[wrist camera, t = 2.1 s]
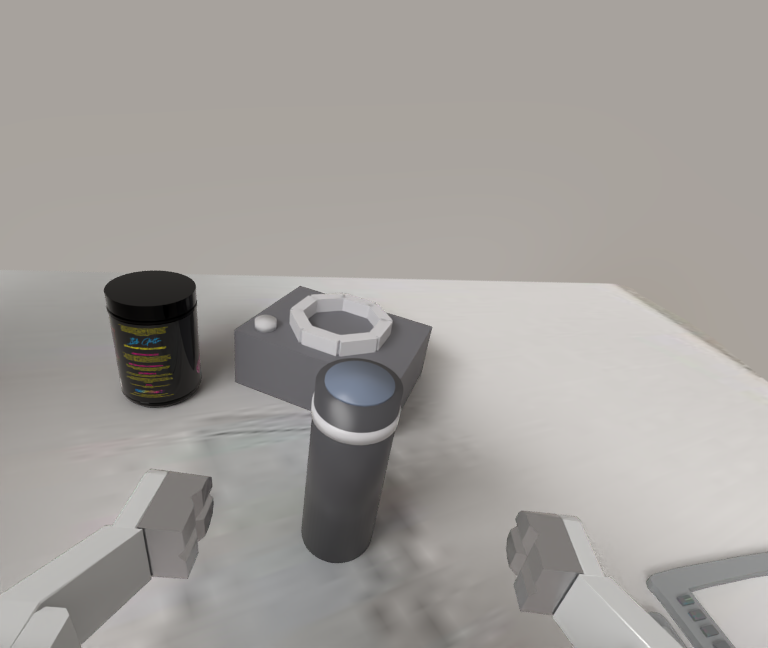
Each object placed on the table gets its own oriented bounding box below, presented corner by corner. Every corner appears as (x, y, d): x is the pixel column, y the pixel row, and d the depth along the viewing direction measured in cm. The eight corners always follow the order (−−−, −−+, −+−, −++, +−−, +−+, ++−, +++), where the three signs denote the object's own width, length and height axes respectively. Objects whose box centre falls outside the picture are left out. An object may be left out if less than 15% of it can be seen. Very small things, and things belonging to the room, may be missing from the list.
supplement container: (208, 402, 40) (202, 301, 35) (123, 418, 37) (104, 310, 32) (195, 361, 45) (189, 268, 40) (120, 373, 42) (102, 273, 37)
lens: (285, 544, 29) (296, 390, 23) (321, 488, 34) (338, 346, 28) (356, 577, 28) (387, 424, 22) (383, 514, 33) (416, 372, 26)
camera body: (235, 381, 43) (234, 315, 40) (297, 330, 53) (300, 274, 50) (385, 439, 39) (399, 372, 36) (421, 372, 50) (435, 314, 46)
